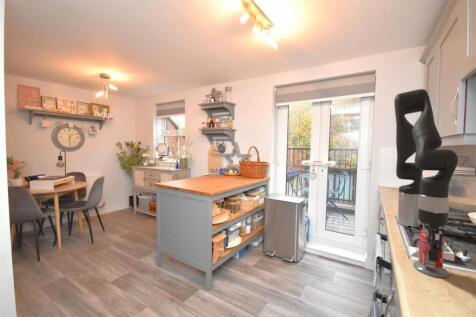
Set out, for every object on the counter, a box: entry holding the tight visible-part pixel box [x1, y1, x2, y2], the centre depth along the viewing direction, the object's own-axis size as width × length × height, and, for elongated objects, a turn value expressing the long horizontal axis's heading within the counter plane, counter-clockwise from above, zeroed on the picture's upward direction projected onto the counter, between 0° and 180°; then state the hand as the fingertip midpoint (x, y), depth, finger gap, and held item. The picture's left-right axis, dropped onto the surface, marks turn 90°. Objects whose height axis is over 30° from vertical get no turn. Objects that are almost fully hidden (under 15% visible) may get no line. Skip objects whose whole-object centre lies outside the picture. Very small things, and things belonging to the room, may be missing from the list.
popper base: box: [443, 245, 455, 262], centre depth 82 cm, size 7×7×3 cm
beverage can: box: [418, 228, 445, 268], centre depth 73 cm, size 6×6×12 cm
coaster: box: [412, 260, 450, 279], centre depth 73 cm, size 9×9×1 cm
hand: (430, 256), depth 73 cm, fingers closed on beverage can, 6 cm apart
